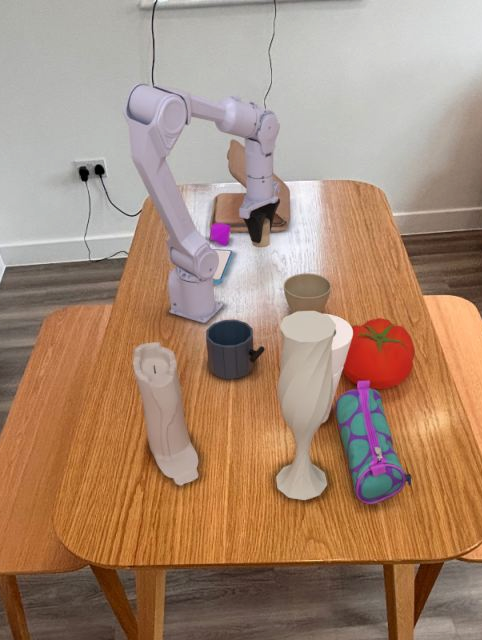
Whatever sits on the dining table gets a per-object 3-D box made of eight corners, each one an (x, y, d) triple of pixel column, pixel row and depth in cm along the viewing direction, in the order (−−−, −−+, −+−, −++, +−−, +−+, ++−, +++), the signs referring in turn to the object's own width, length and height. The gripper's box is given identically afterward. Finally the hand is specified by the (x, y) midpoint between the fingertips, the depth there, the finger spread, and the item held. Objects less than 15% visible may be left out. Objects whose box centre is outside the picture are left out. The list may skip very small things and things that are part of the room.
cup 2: (278, 427, 116) (278, 344, 103) (296, 392, 123) (299, 308, 109) (335, 440, 114) (343, 356, 100) (350, 403, 120) (360, 319, 106)
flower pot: (326, 330, 136) (328, 299, 130) (279, 325, 137) (279, 295, 132) (332, 304, 142) (334, 274, 137) (287, 300, 144) (287, 271, 138)
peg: (248, 245, 143) (248, 223, 139) (257, 237, 145) (256, 215, 142) (264, 249, 142) (264, 226, 138) (272, 241, 144) (272, 219, 140)
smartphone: (233, 250, 157) (221, 280, 147) (233, 254, 158) (221, 285, 148) (203, 248, 158) (189, 278, 148) (203, 253, 159) (190, 283, 149)
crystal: (228, 235, 164) (227, 217, 160) (232, 245, 160) (231, 227, 157) (208, 238, 163) (206, 220, 160) (212, 248, 160) (210, 230, 156)
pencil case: (406, 505, 103) (416, 463, 96) (352, 510, 103) (357, 468, 96) (378, 420, 117) (385, 377, 110) (330, 424, 117) (334, 382, 109)
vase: (274, 464, 110) (273, 309, 87) (322, 460, 111) (333, 305, 88) (279, 502, 105) (280, 347, 82) (330, 498, 105) (344, 343, 82)
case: (290, 233, 164) (291, 167, 152) (208, 234, 165) (203, 168, 152) (290, 198, 177) (291, 134, 165) (214, 198, 178) (210, 135, 166)
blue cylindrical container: (200, 371, 127) (197, 339, 122) (223, 347, 132) (221, 315, 127) (249, 387, 124) (247, 354, 118) (271, 361, 129) (270, 329, 123)
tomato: (348, 406, 120) (353, 362, 112) (328, 354, 130) (331, 311, 123) (422, 397, 121) (431, 353, 113) (396, 346, 131) (403, 303, 124)
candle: (169, 489, 107) (151, 396, 92) (145, 438, 115) (124, 344, 100) (209, 476, 109) (198, 382, 94) (182, 427, 117) (168, 333, 102)
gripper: (259, 190, 127) (261, 255, 137) (292, 163, 135) (291, 227, 145) (229, 184, 129) (232, 248, 140) (263, 158, 137) (264, 220, 148)
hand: (260, 237), depth 143 cm, fingers closed on peg, 4 cm apart
